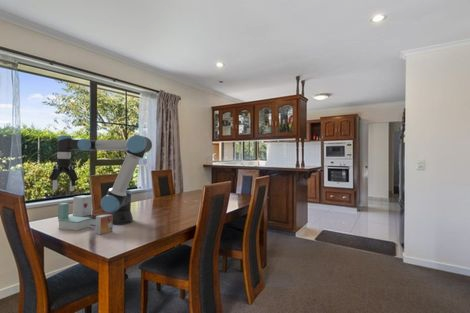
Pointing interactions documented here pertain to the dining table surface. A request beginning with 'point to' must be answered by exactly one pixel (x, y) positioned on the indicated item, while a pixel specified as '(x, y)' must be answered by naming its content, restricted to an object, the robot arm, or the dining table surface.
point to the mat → (93, 222)
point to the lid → (64, 213)
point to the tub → (74, 225)
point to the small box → (104, 224)
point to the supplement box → (82, 205)
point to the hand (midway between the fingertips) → (63, 190)
